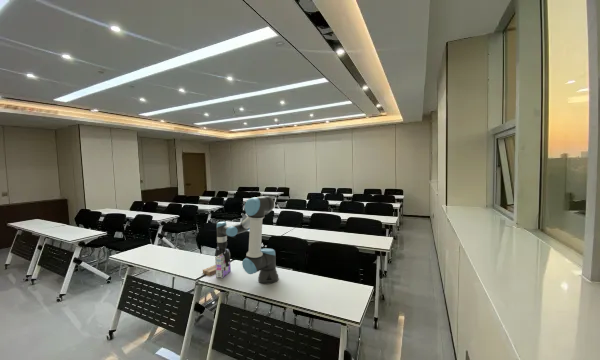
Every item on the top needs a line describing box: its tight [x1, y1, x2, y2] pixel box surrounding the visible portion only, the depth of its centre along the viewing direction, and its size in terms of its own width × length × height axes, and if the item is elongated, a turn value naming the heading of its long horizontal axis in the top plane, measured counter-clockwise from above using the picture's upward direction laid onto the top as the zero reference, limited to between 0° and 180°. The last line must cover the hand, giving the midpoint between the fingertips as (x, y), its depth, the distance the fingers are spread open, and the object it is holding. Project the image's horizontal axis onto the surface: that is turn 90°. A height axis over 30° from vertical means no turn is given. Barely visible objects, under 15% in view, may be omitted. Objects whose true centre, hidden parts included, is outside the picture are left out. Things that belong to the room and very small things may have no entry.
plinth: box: [202, 264, 216, 277], centre depth 208 cm, size 9×15×3 cm, turn 146°
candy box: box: [215, 251, 232, 279], centre depth 201 cm, size 14×6×16 cm, turn 168°
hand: (223, 269), depth 201 cm, fingers closed on candy box, 7 cm apart
